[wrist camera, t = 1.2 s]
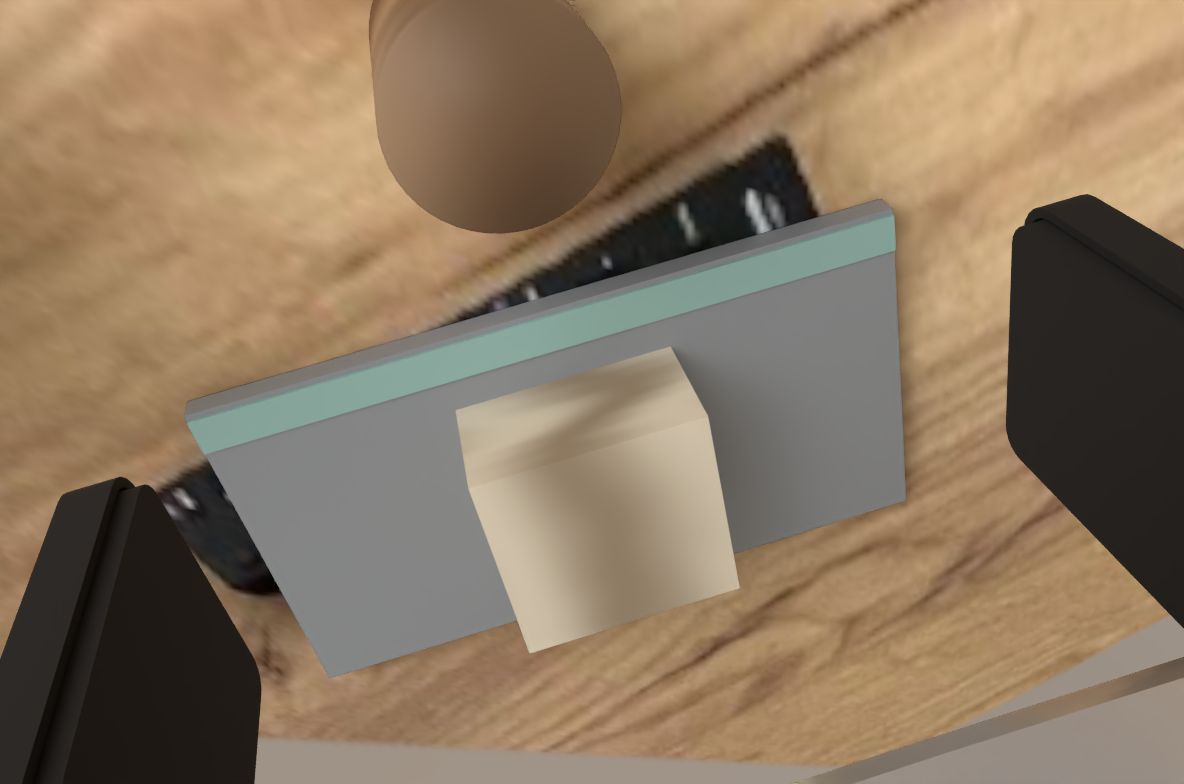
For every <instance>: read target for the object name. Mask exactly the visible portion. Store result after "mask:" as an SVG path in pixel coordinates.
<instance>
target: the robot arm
mask: <svg viewBox="0 0 1184 784" xmlns="http://www.w3.org/2000/svg"><path fill="white" fill-rule="evenodd" d="M1006 431H1007V435H1008V439H1009V442H1010V444H1011V447H1012V448H1013V450H1014V452H1015V454H1016V455H1017V456H1018V458H1019V459H1020V460H1021V461H1022V462H1023V463H1024V464H1025V465H1026V466H1027V467H1028V468H1029V469H1030V470H1031V471H1032V472H1033V473H1034V474H1035V475H1036V476H1037V477H1038V478H1039V479H1040V481H1041V482H1042V483H1043V484H1044V485H1045V486H1046V487H1047V488H1048V489H1049V490H1050V491H1051V492H1052V493H1053V494H1054V495H1055V496H1056V497H1057V498H1058V499H1059V500H1060V501H1061V502H1062V503H1063V504H1064V505H1065V506H1066V507H1067V508H1068V509H1069V510H1070V512H1071V513H1072V514H1073V515H1074V516H1075V517H1076V518H1077V519H1078V520H1079V521H1080V522H1081V523H1082V524H1083V525H1084V526H1085V527H1086V528H1087V529H1088V530H1089V531H1090V532H1091V533H1092V534H1093V535H1094V536H1095V537H1096V538H1097V539H1098V540H1099V541H1100V543H1101V544H1102V545H1103V546H1104V547H1105V548H1106V549H1107V550H1108V551H1109V552H1110V553H1111V554H1112V555H1113V556H1114V557H1115V558H1116V559H1117V560H1118V561H1119V562H1120V563H1121V564H1122V565H1123V566H1124V567H1125V568H1126V569H1127V570H1128V571H1129V572H1130V574H1131V575H1132V576H1133V577H1134V578H1135V579H1136V580H1137V581H1138V582H1139V583H1140V584H1141V585H1142V586H1143V587H1144V588H1145V589H1146V590H1147V591H1148V592H1149V593H1150V594H1151V595H1152V596H1153V597H1154V598H1155V599H1156V600H1157V601H1158V602H1159V603H1160V605H1161V606H1162V607H1163V608H1164V609H1165V610H1166V611H1167V612H1168V613H1169V614H1170V615H1171V616H1172V617H1173V618H1174V619H1175V620H1176V621H1177V622H1178V623H1179V624H1180V625H1181V626H1182V627H1183V628H1184V249H1183V248H1181V247H1180V246H1178V245H1176V244H1175V243H1173V242H1171V241H1169V240H1168V239H1166V238H1164V237H1163V236H1161V235H1159V234H1158V233H1156V232H1154V231H1152V230H1151V229H1149V228H1147V227H1146V226H1144V225H1142V224H1140V223H1139V222H1137V221H1135V220H1134V219H1132V218H1130V217H1129V216H1127V215H1125V214H1123V213H1122V212H1120V211H1118V210H1117V209H1115V208H1113V207H1111V206H1110V205H1108V204H1106V203H1105V202H1103V201H1101V200H1100V199H1098V198H1096V197H1094V196H1091V195H1088V194H1085V195H1080V196H1076V197H1073V198H1069V199H1066V200H1063V201H1059V202H1056V203H1052V204H1049V205H1045V206H1042V207H1039V208H1035V209H1033V210H1032V211H1031V212H1030V213H1029V214H1028V216H1027V218H1026V220H1025V225H1024V226H1021V227H1019V228H1018V229H1017V230H1016V231H1015V233H1014V235H1013V241H1012V262H1011V292H1010V321H1009V351H1008V380H1007V410H1006ZM260 703H261V681H260V675H259V671H258V668H257V665H256V662H255V660H254V658H253V656H252V654H251V652H250V651H249V649H248V647H247V646H246V644H245V642H244V640H243V639H242V637H241V635H240V634H239V632H238V630H237V629H236V627H235V625H234V624H233V622H232V620H231V618H230V617H229V615H228V613H227V612H226V610H225V608H224V607H223V605H222V603H221V601H220V600H219V598H218V596H217V595H216V593H215V591H214V590H213V588H212V586H211V585H210V583H209V581H208V579H207V578H206V576H205V574H204V573H203V571H202V569H201V568H200V566H199V564H198V563H197V561H196V559H195V557H194V556H193V554H192V552H191V551H190V549H189V547H188V546H187V544H186V542H185V541H184V539H183V537H182V535H181V534H180V532H179V530H178V529H177V527H176V525H175V524H174V522H173V520H172V518H171V517H170V515H169V513H168V512H167V510H166V508H165V507H164V505H163V503H162V502H161V500H160V498H159V496H158V495H157V494H156V492H155V491H154V489H153V488H151V487H150V486H149V485H141V486H138V487H135V486H134V485H133V484H132V483H131V482H130V481H129V480H128V479H126V478H123V477H118V478H115V479H111V480H108V481H104V482H101V483H98V484H94V485H91V486H87V487H84V488H81V489H77V490H74V491H70V492H67V493H65V494H63V495H62V496H61V498H60V500H59V501H58V504H57V506H56V509H55V512H54V515H53V517H52V520H51V523H50V525H49V528H48V531H47V534H46V536H45V539H44V542H43V544H42V547H41V550H40V553H39V555H38V558H37V561H36V564H35V566H34V569H33V572H32V574H31V577H30V580H29V583H28V585H27V588H26V591H25V593H24V596H23V599H22V602H21V604H20V607H19V610H18V612H17V615H16V618H15V621H14V623H13V626H12V629H11V631H10V634H9V637H8V640H7V642H6V645H5V648H4V650H3V653H2V656H1V659H0V784H254V780H255V768H256V767H255V766H256V755H257V742H258V729H259V716H260ZM792 784H1184V657H1182V658H1179V659H1176V660H1173V661H1170V662H1167V663H1164V664H1160V665H1157V666H1154V667H1151V668H1148V669H1145V670H1142V671H1139V672H1135V673H1133V674H1129V675H1126V676H1123V677H1120V678H1117V679H1113V680H1111V681H1107V682H1104V683H1101V684H1098V685H1095V686H1092V687H1089V688H1085V689H1082V690H1079V691H1076V692H1073V693H1070V694H1067V695H1064V696H1060V697H1057V698H1054V699H1051V700H1048V701H1045V702H1042V703H1039V704H1036V705H1032V706H1029V707H1027V708H1023V709H1020V710H1017V711H1014V712H1011V713H1007V714H1005V715H1001V716H998V717H995V718H992V719H989V720H986V721H983V722H980V723H976V724H973V725H970V726H967V727H964V728H961V729H958V730H955V731H952V732H949V733H945V734H942V735H939V736H936V737H933V738H930V739H927V740H924V741H921V742H918V743H915V744H912V745H909V746H906V747H903V748H899V749H896V750H893V751H890V752H887V753H884V754H881V755H878V756H875V757H872V758H869V759H866V760H863V761H860V762H856V763H853V764H850V765H847V766H844V767H841V768H838V769H835V770H832V771H829V772H826V773H823V774H820V775H817V776H814V777H810V778H808V779H804V780H801V781H798V782H795V783H792Z"/></svg>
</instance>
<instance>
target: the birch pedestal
mask: <svg viewBox="0 0 1184 784" xmlns="http://www.w3.org/2000/svg"><path fill="white" fill-rule="evenodd" d="M455 411H456V417H457V423H458V429H459V435H460V441H461V447H462V453H463V459H464V465H465V472H466V478H467V484H468V489H469V492H470V495H471V497H472V500H473V503H474V505H475V508H476V511H477V513H478V516H479V519H480V521H481V524H482V527H483V529H484V532H485V535H486V537H487V540H488V543H489V546H490V548H491V551H492V554H493V556H494V559H495V562H496V564H497V567H498V570H499V572H500V575H501V578H502V580H503V583H504V586H505V588H506V591H507V594H508V596H509V599H510V602H511V605H512V607H513V610H514V613H515V615H516V618H517V621H518V623H519V626H520V629H521V631H522V634H523V637H524V639H525V642H526V645H527V647H528V650H529V653H533V652H536V651H539V650H542V649H545V648H549V647H552V646H555V645H558V644H562V643H565V642H568V641H571V640H574V639H578V638H581V637H584V636H587V635H591V634H594V633H597V632H600V631H603V630H607V629H610V628H613V627H616V626H620V625H623V624H626V623H629V622H632V621H636V620H639V619H642V618H645V617H649V616H652V615H655V614H658V613H661V612H665V611H668V610H671V609H674V608H678V607H681V606H684V605H687V604H690V603H694V602H697V601H700V600H703V599H707V598H710V597H713V596H716V595H719V594H723V593H726V592H729V591H732V590H736V589H739V588H740V587H739V581H738V576H737V571H736V565H735V560H734V554H733V549H732V543H731V538H730V532H729V527H728V522H727V516H726V511H725V505H724V500H723V494H722V489H721V484H720V478H719V473H718V467H717V462H716V456H715V451H714V445H713V440H712V435H711V429H710V424H709V418H708V415H707V413H706V412H705V410H704V408H703V406H702V404H701V402H700V400H699V398H698V397H697V395H696V393H695V391H694V389H693V387H692V385H691V384H690V382H689V380H688V378H687V376H686V374H685V372H684V370H683V369H682V367H681V365H680V363H679V361H678V359H677V357H676V356H675V354H674V352H673V350H672V348H671V346H670V347H667V348H664V349H660V350H657V351H653V352H650V353H647V354H643V355H640V356H637V357H633V358H630V359H627V360H623V361H620V362H616V363H613V364H610V365H606V366H603V367H600V368H596V369H593V370H589V371H586V372H583V373H579V374H576V375H573V376H569V377H566V378H563V379H559V380H556V381H552V382H549V383H546V384H542V385H539V386H536V387H532V388H529V389H525V390H522V391H519V392H515V393H512V394H509V395H505V396H502V397H499V398H495V399H492V400H488V401H485V402H482V403H478V404H475V405H472V406H468V407H465V408H461V409H458V410H455Z"/></svg>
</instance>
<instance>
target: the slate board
mask: <svg viewBox="0 0 1184 784" xmlns="http://www.w3.org/2000/svg"><path fill="white" fill-rule="evenodd" d="M895 251H896V239H895V217H894V215H893V208H892V207H890V206H889V205H888V204H887V203H886V202H885V201H883V200H882V199H878V200H875V201H872V202H868V203H865V204H861V205H858V206H854V207H851V208H848V209H844V210H841V211H837V212H834V213H831V214H827V215H824V216H820V217H817V218H813V219H810V220H807V221H803V222H800V223H796V224H793V225H790V226H786V227H783V228H779V229H776V230H772V231H769V232H766V233H762V234H759V235H755V236H752V237H748V238H745V239H742V240H738V241H735V242H731V243H728V244H725V245H721V246H718V247H714V248H711V249H707V250H704V251H701V252H697V253H694V254H690V255H687V256H684V257H680V258H677V259H673V260H670V261H666V262H663V263H660V264H656V265H653V266H649V267H646V268H643V269H639V270H636V271H632V272H629V273H625V274H622V275H619V276H615V277H612V278H608V279H605V280H601V281H598V282H595V283H591V284H588V285H584V286H581V287H578V288H574V289H571V290H567V291H564V292H560V293H557V294H554V295H550V296H547V297H543V298H540V299H537V300H533V301H530V302H526V303H523V304H519V305H516V306H513V307H509V308H506V309H502V310H499V311H496V312H492V313H489V314H485V315H482V316H478V317H475V318H472V319H468V320H465V321H461V322H458V323H454V324H451V325H448V326H444V327H441V328H437V329H434V330H431V331H427V332H424V333H420V334H417V335H413V336H410V337H407V338H403V339H400V340H396V341H393V342H390V343H386V344H383V345H379V346H376V347H372V348H369V349H366V350H362V351H359V352H355V353H352V354H349V355H345V356H342V357H338V358H335V359H331V360H328V361H325V362H321V363H318V364H314V365H311V366H308V367H304V368H301V369H297V370H294V371H290V372H287V373H284V374H280V375H277V376H273V377H270V378H266V379H263V380H260V381H256V382H253V383H249V384H246V385H243V386H239V387H236V388H232V389H229V390H225V391H222V392H219V393H215V394H212V395H208V396H205V397H202V398H198V399H195V400H191V401H188V402H187V406H186V410H185V414H184V417H185V419H186V421H187V425H188V427H189V429H190V431H191V432H192V434H193V436H194V438H195V440H196V441H197V443H198V445H199V447H200V449H201V450H202V452H203V454H204V455H206V457H207V459H208V460H209V462H210V464H211V466H212V468H213V469H214V471H215V473H216V475H217V477H218V478H219V480H220V482H221V484H222V486H223V487H224V489H225V491H226V493H227V495H228V496H229V498H230V500H231V502H232V504H233V505H234V507H235V509H236V511H237V513H238V514H239V516H240V518H241V520H242V522H243V523H244V525H245V527H246V529H247V531H248V532H249V534H250V536H251V538H252V540H253V541H254V543H255V545H256V547H257V549H258V550H259V552H260V554H261V556H262V558H263V559H264V561H265V563H266V565H267V567H268V568H269V570H270V572H271V574H272V576H273V577H274V579H275V581H276V583H277V585H278V586H279V588H280V590H281V592H282V594H283V595H284V597H285V599H286V601H287V603H288V604H289V606H290V608H291V610H292V612H293V613H294V615H295V617H296V619H297V621H298V622H299V624H300V626H301V628H302V630H303V631H304V633H305V635H306V637H307V639H308V640H309V642H310V644H311V646H312V648H313V649H314V651H315V653H316V655H317V657H318V658H319V660H320V662H321V664H322V666H323V667H324V669H325V671H326V673H327V675H328V676H329V678H332V677H336V676H339V675H342V674H345V673H349V672H352V671H355V670H358V669H362V668H365V667H368V666H371V665H375V664H378V663H381V662H384V661H388V660H391V659H394V658H397V657H400V656H404V655H407V654H410V653H413V652H417V651H420V650H423V649H426V648H430V647H433V646H436V645H439V644H443V643H446V642H449V641H452V640H456V639H459V638H462V637H465V636H469V635H472V634H475V633H478V632H482V631H485V630H488V629H491V628H494V627H498V626H501V625H504V624H507V623H511V622H514V621H517V618H516V615H515V613H514V610H513V607H512V605H511V602H510V599H509V596H508V594H507V591H506V588H505V586H504V583H503V580H502V578H501V575H500V572H499V570H498V567H497V564H496V562H495V559H494V556H493V554H492V551H491V548H490V546H489V543H488V540H487V537H486V535H485V532H484V529H483V527H482V524H481V521H480V519H479V516H478V513H477V511H476V508H475V505H474V503H473V500H472V497H471V495H470V492H469V489H468V484H467V478H466V472H465V465H464V459H463V453H462V447H461V441H460V435H459V429H458V423H457V417H456V411H455V410H458V409H461V408H465V407H468V406H472V405H475V404H478V403H482V402H485V401H488V400H492V399H495V398H499V397H502V396H505V395H509V394H512V393H515V392H519V391H522V390H525V389H529V388H532V387H536V386H539V385H542V384H546V383H549V382H552V381H556V380H559V379H563V378H566V377H569V376H573V375H576V374H579V373H583V372H586V371H589V370H593V369H596V368H600V367H603V366H606V365H610V364H613V363H616V362H620V361H623V360H627V359H630V358H633V357H637V356H640V355H643V354H647V353H650V352H653V351H657V350H660V349H664V348H667V347H670V346H671V348H672V350H673V352H674V354H675V356H676V357H677V359H678V361H679V363H680V365H681V367H682V369H683V370H684V372H685V374H686V376H687V378H688V380H689V382H690V384H691V385H692V387H693V389H694V391H695V393H696V395H697V397H698V398H699V400H700V402H701V404H702V406H703V408H704V410H705V412H706V413H707V415H708V418H709V424H710V429H711V435H712V440H713V445H714V451H715V456H716V462H717V467H718V473H719V478H720V484H721V489H722V494H723V500H724V505H725V511H726V516H727V522H728V527H729V532H730V538H731V543H732V549H733V554H734V553H738V552H741V551H744V550H747V549H751V548H754V547H757V546H760V545H764V544H767V543H770V542H773V541H777V540H780V539H783V538H786V537H789V536H793V535H796V534H799V533H802V532H806V531H809V530H812V529H815V528H819V527H822V526H825V525H828V524H832V523H835V522H838V521H841V520H845V519H848V518H851V517H854V516H858V515H861V514H864V513H867V512H871V511H874V510H877V509H880V508H883V507H887V506H890V505H893V504H896V503H900V502H903V501H906V486H905V464H904V443H903V421H902V399H901V377H900V356H899V334H898V312H897V291H896V269H895Z"/></svg>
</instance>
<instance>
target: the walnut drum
mask: <svg viewBox="0 0 1184 784" xmlns="http://www.w3.org/2000/svg"><path fill="white" fill-rule="evenodd" d="M369 41H370V53H371V65H372V77H373V89H374V101H375V114H376V124H377V131H378V138H379V142H380V145H381V149H382V153H383V155H384V158H385V160H386V162H387V165H388V167H389V169H390V171H391V172H392V174H393V176H394V177H395V179H396V181H397V182H398V183H399V185H400V186H401V187H402V188H403V190H404V191H405V192H406V194H408V195H409V196H410V197H411V198H412V199H413V200H414V201H415V202H416V203H417V204H418V205H419V206H420V207H422V208H423V209H424V210H426V211H427V212H428V213H430V214H431V215H433V216H435V217H437V218H438V219H440V220H442V221H444V222H446V223H449V224H451V225H454V226H456V227H459V228H463V229H466V230H470V231H475V232H482V233H511V232H519V231H523V230H528V229H532V228H535V227H537V226H540V225H543V224H546V223H548V222H550V221H552V220H554V219H556V218H558V217H560V216H561V215H563V214H564V213H566V212H567V211H569V210H570V209H572V208H573V207H574V206H575V205H576V204H578V203H579V202H580V201H581V200H582V199H583V198H584V197H585V196H586V195H587V194H588V193H589V192H590V191H591V190H592V189H593V187H594V186H595V185H596V183H597V182H598V181H599V179H600V178H601V176H602V175H603V173H604V171H605V169H606V168H607V166H608V164H609V162H610V160H611V157H612V155H613V152H614V150H615V147H616V143H617V139H618V135H619V129H620V122H621V98H620V91H619V85H618V81H617V77H616V74H615V70H614V68H613V65H612V63H611V61H610V58H609V56H608V54H607V53H606V51H605V49H604V47H603V46H602V44H601V42H600V41H599V40H598V39H597V37H596V36H595V35H594V33H593V32H592V31H591V30H590V28H589V27H588V26H587V25H586V24H585V22H584V21H583V20H582V19H581V18H580V17H579V15H578V14H577V13H576V12H575V11H574V9H573V8H572V7H571V6H570V5H569V3H568V2H567V1H566V0H373V3H372V7H371V12H370V20H369Z"/></svg>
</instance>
